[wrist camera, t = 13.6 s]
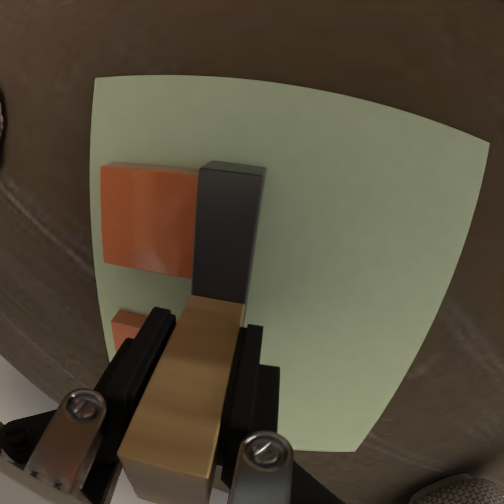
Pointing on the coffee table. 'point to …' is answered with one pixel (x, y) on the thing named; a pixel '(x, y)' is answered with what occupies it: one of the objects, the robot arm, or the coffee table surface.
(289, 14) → the coffee table surface
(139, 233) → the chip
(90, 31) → the coffee table surface
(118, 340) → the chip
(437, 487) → the planter
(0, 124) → the decorative disc
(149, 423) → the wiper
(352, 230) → the mat
